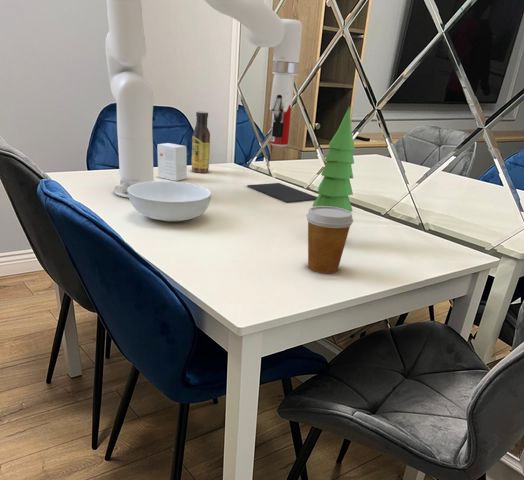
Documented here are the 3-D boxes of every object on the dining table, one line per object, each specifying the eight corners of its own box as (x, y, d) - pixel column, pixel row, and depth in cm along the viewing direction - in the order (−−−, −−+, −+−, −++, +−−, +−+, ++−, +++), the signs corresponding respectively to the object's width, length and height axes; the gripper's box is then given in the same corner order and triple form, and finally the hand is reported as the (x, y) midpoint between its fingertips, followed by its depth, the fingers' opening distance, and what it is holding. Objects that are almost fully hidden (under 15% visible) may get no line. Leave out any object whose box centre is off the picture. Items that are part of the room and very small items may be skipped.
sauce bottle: (189, 169, 193) (189, 110, 183) (205, 169, 195) (206, 110, 186) (195, 173, 188) (195, 112, 178) (211, 173, 190) (213, 113, 181)
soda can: (291, 146, 165) (295, 103, 159) (279, 146, 161) (282, 103, 156) (278, 143, 168) (282, 101, 162) (266, 144, 165) (269, 101, 159)
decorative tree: (349, 238, 133) (370, 107, 119) (344, 249, 125) (365, 109, 111) (311, 232, 135) (327, 102, 121) (303, 242, 127) (319, 105, 113)
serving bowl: (114, 221, 130) (112, 193, 127) (149, 203, 148) (148, 177, 145) (194, 233, 127) (195, 204, 124) (221, 213, 145) (222, 187, 142)
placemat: (320, 199, 167) (320, 198, 167) (287, 202, 161) (287, 201, 160) (278, 184, 183) (279, 182, 183) (247, 186, 176) (247, 185, 176)
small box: (187, 179, 179) (187, 145, 174) (176, 181, 175) (176, 147, 170) (168, 175, 183) (168, 142, 177) (157, 177, 178) (156, 143, 173)
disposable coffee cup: (341, 261, 117) (349, 207, 111) (349, 277, 109) (358, 219, 103) (298, 259, 117) (304, 204, 111) (302, 275, 108) (309, 216, 102)
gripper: (279, 68, 163) (274, 131, 172) (265, 68, 148) (260, 137, 157) (303, 70, 161) (297, 134, 170) (292, 70, 147) (285, 140, 155)
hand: (279, 135), depth 163 cm, fingers closed on soda can, 5 cm apart
